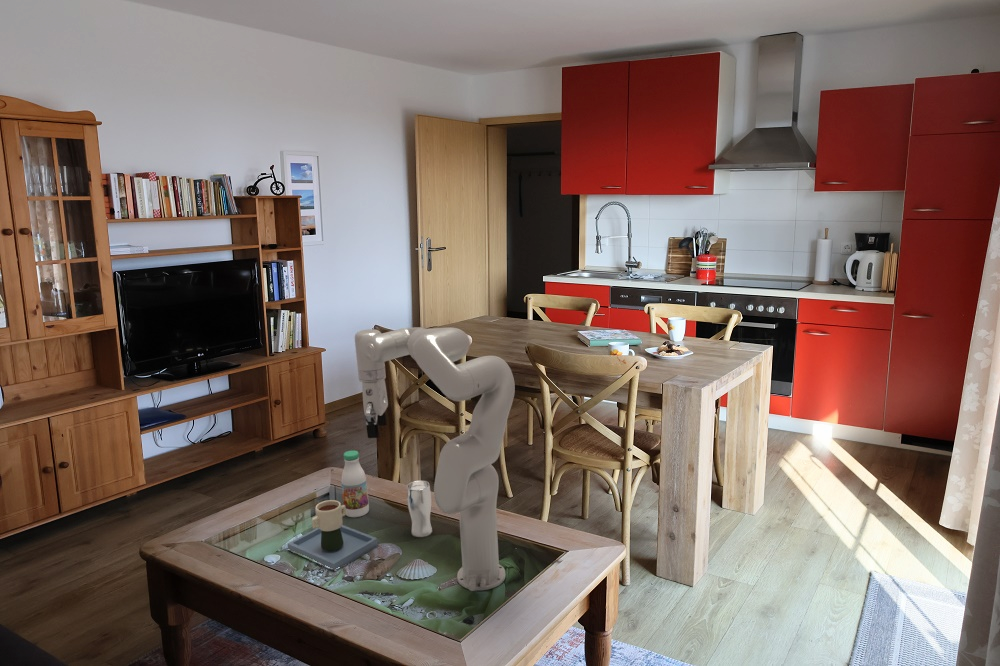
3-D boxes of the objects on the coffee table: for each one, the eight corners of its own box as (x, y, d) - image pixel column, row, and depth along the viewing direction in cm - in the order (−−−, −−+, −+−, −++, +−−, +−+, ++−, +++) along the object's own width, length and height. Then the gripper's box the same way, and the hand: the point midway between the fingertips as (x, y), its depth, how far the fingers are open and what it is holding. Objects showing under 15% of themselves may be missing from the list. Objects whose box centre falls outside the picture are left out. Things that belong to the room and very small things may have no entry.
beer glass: (432, 537, 211) (428, 490, 208) (408, 538, 212) (404, 490, 208) (434, 526, 218) (431, 479, 215) (411, 526, 218) (407, 480, 215)
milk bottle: (343, 509, 232) (337, 450, 227) (367, 504, 234) (361, 446, 229) (345, 519, 225) (339, 459, 220) (370, 515, 227) (365, 455, 222)
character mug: (341, 536, 213) (337, 495, 210) (355, 543, 208) (351, 502, 205) (309, 551, 206) (304, 508, 203) (322, 559, 201) (317, 516, 198)
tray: (378, 545, 208) (377, 538, 208) (334, 571, 196) (333, 563, 195) (332, 527, 220) (331, 520, 220) (288, 551, 208) (287, 543, 207)
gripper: (378, 382, 195) (384, 442, 199) (391, 364, 212) (396, 420, 216) (350, 383, 196) (357, 443, 200) (366, 365, 213) (371, 421, 217)
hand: (377, 431), depth 208 cm, fingers open, 9 cm apart
